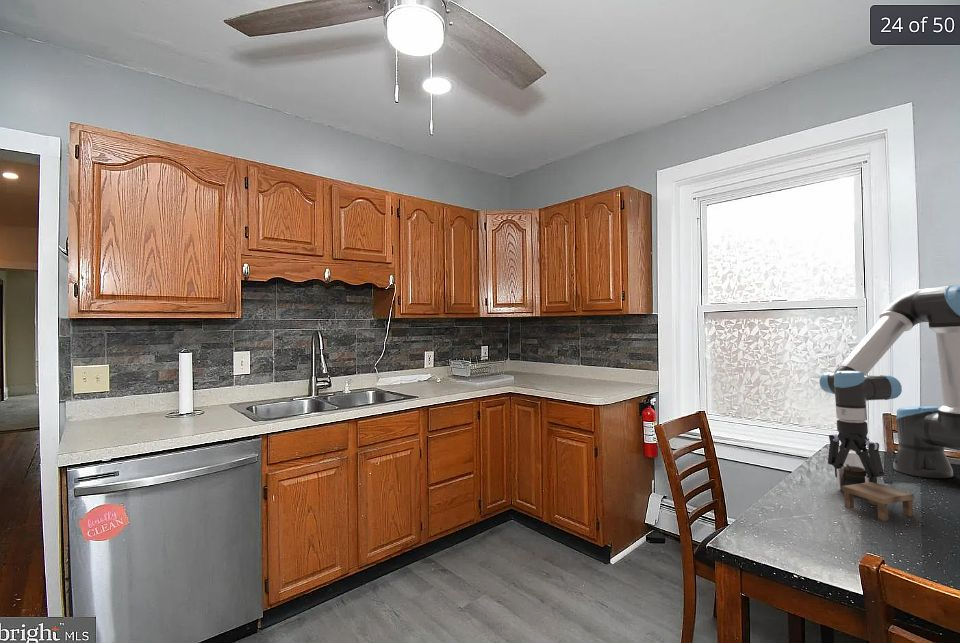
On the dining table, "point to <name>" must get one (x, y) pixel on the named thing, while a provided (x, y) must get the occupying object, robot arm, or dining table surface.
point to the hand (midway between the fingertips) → (856, 493)
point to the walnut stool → (879, 497)
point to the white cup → (853, 460)
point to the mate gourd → (853, 475)
